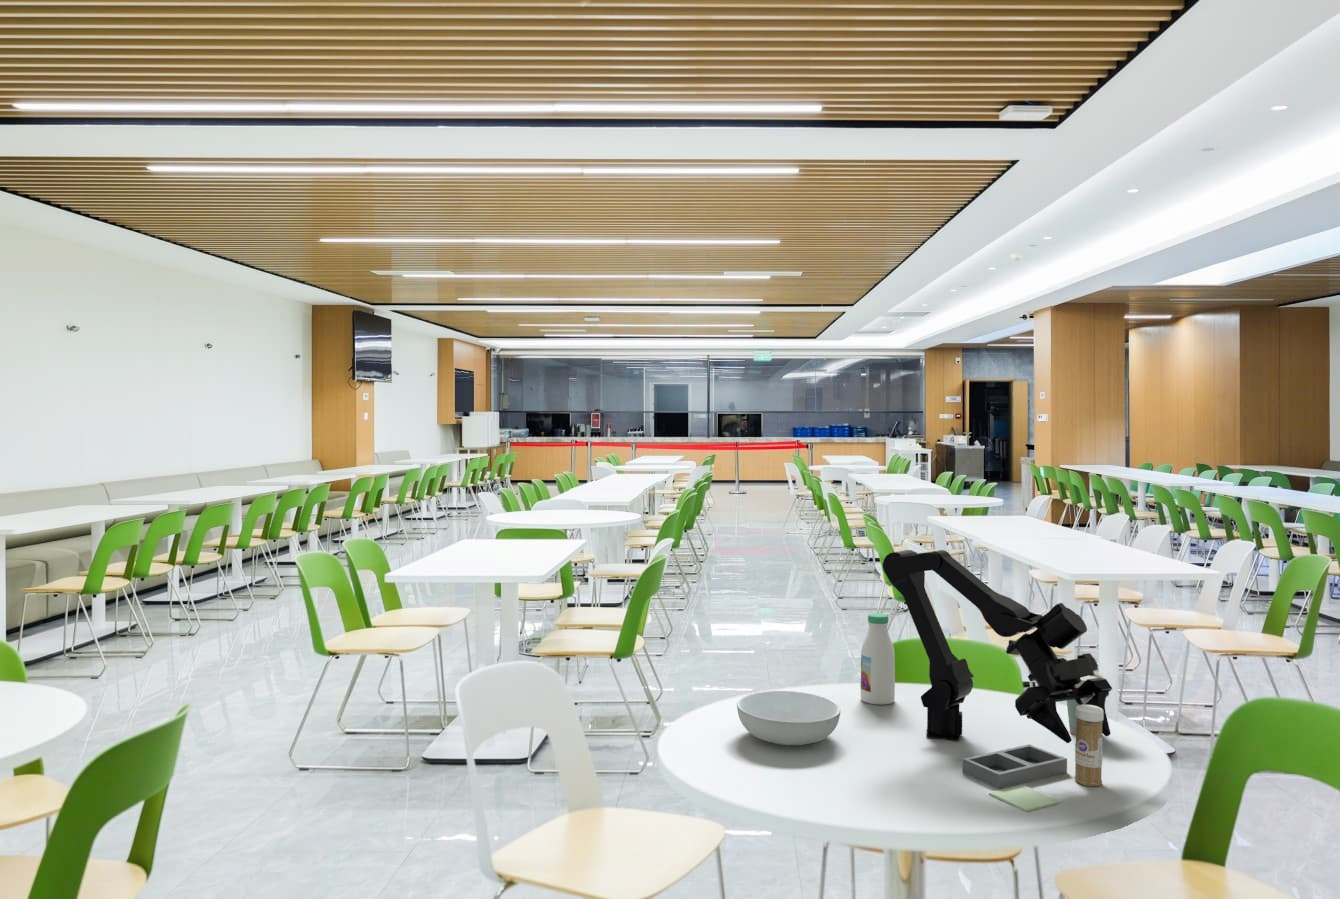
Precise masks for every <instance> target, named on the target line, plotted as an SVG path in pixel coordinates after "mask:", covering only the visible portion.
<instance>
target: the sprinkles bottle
mask: <svg viewBox="0 0 1340 899" xmlns="http://www.w3.org/2000/svg"><path fill="white" fill-rule="evenodd" d="M1075 716H1076V736H1075V749H1074V752H1075V753H1074V763H1075V771H1074V772H1075V773H1074V774H1075V775H1074V780H1075V782H1077V783H1078V784H1081V785H1083V786H1088V787H1098V786H1100V785H1102V784H1103V780H1102V767H1103V734H1102V722H1103V719H1104V711H1103V709H1102V708H1100V707H1097V706H1094V705H1085V704H1082V705H1077V706H1076V709H1075Z"/></svg>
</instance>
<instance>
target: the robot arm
mask: <svg viewBox="0 0 1340 899" xmlns="http://www.w3.org/2000/svg"><path fill="white" fill-rule="evenodd" d="M881 564H882V570H883V573H884V574H885V575H886V577H887V579H888V581H889V583H890V584H891V586H893V587H894V589H895V590H896V591H897V592H899V593H900V594H901V596H902V598H903V600H904V602H905V605H906V607H907V609H908V612H909V615H910V617H911V619H912V622H913V623H914V627H915V628H916V631H917V634H918V636H919V639H920V641H921V644H922V646H923V648H924V651H925V653H926V655H927V658H928V662H929V666H928V668H929V670H928V671H929V672H928V677H929V681H930V686H931V687H930V688H929V689H928V690H926V691H925V692H924V693H923V694H922V695H921V696H920V701H921V704H922V707H923V708H926V709H927V714H926V715H927V717H926V721H927V722H926V723H927V724H926V733H925V736H926V738H930V739H931V738H932V739H940V740H941V739H942V740H952V741H960V740H961V739H960V738H961V736H962V735H963V711H960V704H962V703H964V701H965V699H966V697H967V696H969V695H970V694H971V692H972V690H973V687H974V682H973V678H974V677H975V675H974V674H973V673H972V672H971V670H970V668H969V665H968V664H969V663H968V661H967V659H966V658H963V657H962V658H961V659H959V658H958V657H957V656H955V654H954V653H953V652H952V651H951V648H950V645H949V643H948V640H947V638H946V635H945V633H944V632H943V631H944V630H943V629H942V626H941V624H940V622H939V619H938V616H937V614H936V612H935V610H934V607H933V604H932V602H931V600H930V598H929V596H928V593H927V591H926V587H925V579H926V578H925V577H926V576H925V575H926V573H925V572H928V571H933V572H934V573H935V574H937V575H938V576H939V577H940V578H941V579H943V580H944V581H945V582H946V583H947V584H949V585H950V586H951V587H952V588H953V589H955V590H956V591H957V592H959V594H961V595H962V596H963V597H964V598H965V599H966V600H968V601H970V602H971V603H972V604H973V605H974V606H975V607H976V609H978V610H979V611H980V613H981V615H982V618H983V619H984V621H985V622H986V623H987V624H988V625H989V627H990V628H991V629H992V630H993V632H995V633H996V634H997V635H999V636H1000V637H1003V638H1011V637H1014V636H1016V635H1019V634H1021V633H1024V634H1023V635H1021V636H1019V637H1018V638H1017V639H1016V640H1015V639H1014V640H1013V639H1010V640H1008V645H1007V647H1006V650H1005V653H1006V654H1007V655H1013V656H1014V655H1016V656H1020V657H1021V660H1023V662H1024V664H1025V666H1026V667H1027V669H1028V671H1029V675H1028V676H1027V678H1028V680H1029V681H1030V682H1034V681H1035V682H1036V685H1035V686H1030V687H1027V688H1025V690H1024V691H1023V692H1022V693H1021V694H1020V695H1018V697H1016V699H1015V701H1014V707H1015V709H1016V710H1017V712H1018V714H1019V716H1020V717H1023V716H1026V718H1027V719H1031V720H1032V721H1034V722H1035V723H1037V724H1039V725H1040V726H1042V727H1044V728H1045V729H1046V730H1048V731H1050V732H1051V733H1052V734H1053V735H1055V736H1056V737H1058V738H1059V739H1060V740H1062V741H1063V742H1065V743H1066V744H1070V743H1072V738H1071V737H1072V736H1071V735H1070V731H1068V729H1067V727H1066V725H1065V724H1064V722H1063V720H1062V718H1061V716H1060V714H1059V713H1058V711H1057V703H1059V702H1065V701H1066V702H1067V700H1073V699H1075V700H1076V702H1077V703H1078V704H1079V705H1082V704H1085V705H1094V706H1097V707H1100V708H1102V709H1103V711H1104V719H1103V722H1102V735H1104V736H1105V737H1107V738H1108V737H1109V736H1111V729H1110V725H1109V722H1108V721H1109V720H1108V716H1107V713H1106V701H1105V698H1106V699H1107V698H1108V697H1109V695H1110V692H1111V691H1112V690H1113V687H1112V686H1111V684H1110V683H1109V681H1108V680H1107V678H1106V679H1104V678H1093V679H1087V680H1086V681H1085V682H1084V683H1083V684H1082V685H1081V686H1080V687H1078V688H1075V685H1076V684H1079V683H1080V682H1081V679H1080V678H1081V677H1085V676H1088V675H1090V676H1093V675H1095V674H1096V673H1095V671H1097V670H1098V668H1099V667H1098V663H1097V660H1096V658H1094V656H1093V655H1092V654H1091V653H1090V652H1089V653H1083V654H1079V655H1077V658H1074V659H1069V660H1068V659H1065V658H1064V657H1058V656H1057V654H1056V653H1055V651H1054V649H1055V648H1057V649H1060V650H1064V649H1065V648H1066V647H1068V646H1069V645H1071V644H1072V643H1074V641H1076V640H1077V639H1078V638H1080V637H1081V636H1083V635H1084V634H1085V633H1087V631H1088V627H1087V624H1086V623H1085V621H1084V619H1083V618H1082V617H1081V616H1080V614H1078V613H1076V612H1075V611H1073V610H1072V609H1070V608H1068V607H1067V606H1066V605H1065V604H1064V603H1063V602H1059V603H1056V604H1055V605H1054V606H1053V607H1051V609H1050V610H1049V611H1048V612H1047V613H1045V614H1044V615H1041V614H1039V613H1038V614H1037V613H1034V612H1031V611H1029V609H1028V608H1027V607H1026V606H1025V605H1023V604H1021V603H1019V602H1017V601H1016V600H1014V599H1012V598H1011V597H1009V596H1005V595H1004V594H1000V593H998V592H996V591H995V590H993V589H992V588H990V586H988V585H987V584H986V583H985V582H984V581H982V580H981V579H979V578H978V576H976V575H975V574H974V573H972V572H971V571H970V570H968V569H967V568H966V567H965V566H964V565H962V563H960V562H959V561H958V560H956V559H955V558H954V557H952V555H951V553H949V551H947V550H944V549H938V550H933V551H927V552H919V553H918V552H916V551H914V550H912V549H905V550H899V551H893V552H889V553H888V554H887V555H885V557H884V559H883V562H882V563H881ZM1035 629H1036V630H1035ZM1032 630H1034V631H1033V632H1031V633H1027V632H1029V631H1032ZM1053 648H1054V649H1053ZM1094 673H1095V674H1094ZM1068 694H1069V695H1068ZM1104 703H1105V705H1104Z"/></svg>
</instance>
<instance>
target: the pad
mask: <svg viewBox="0 0 1340 899" xmlns="http://www.w3.org/2000/svg"><path fill="white" fill-rule="evenodd" d="M988 795H990V796H992V797H994V798H996V799H998V800H1001V801H1002V802H1005V803H1006V804H1009V805H1010V806H1013V807H1015V808H1017V809H1020V810H1021V811H1024V812H1026V813H1027V812H1031V811H1034V810H1039V809H1042V808H1047V807H1050V806H1055V805H1057V804H1060V803H1061V800H1059V799H1056V798H1054V797H1052V796H1049V795H1048V794H1045V793H1042V792H1040V791H1038V790H1036V789H1033V788H1031V787H1028V786H1027V785H1024V784H1018V785H1013V786H1009V787H1005V788H1001V789H998V790H995V791H991V792H989V793H988Z"/></svg>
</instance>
